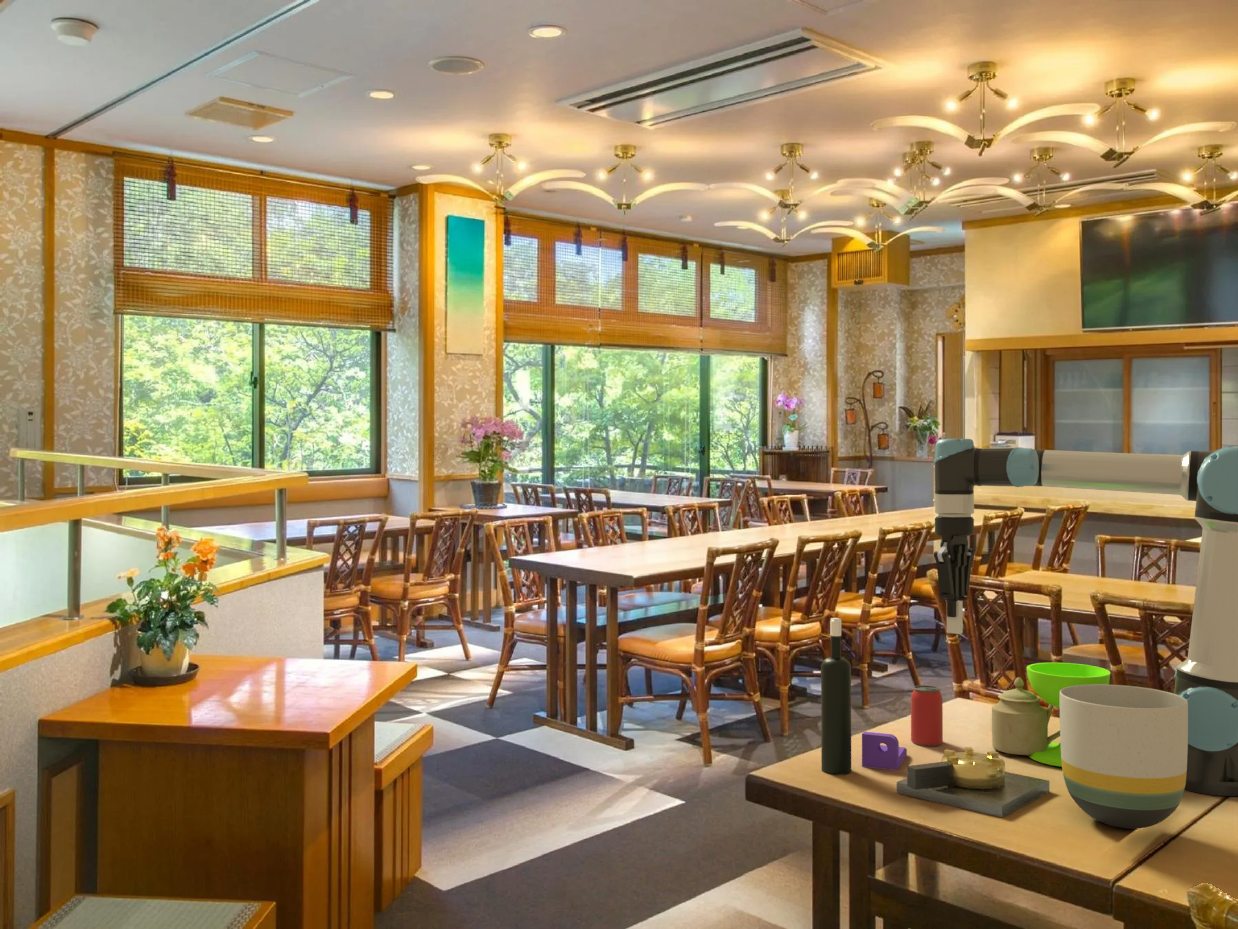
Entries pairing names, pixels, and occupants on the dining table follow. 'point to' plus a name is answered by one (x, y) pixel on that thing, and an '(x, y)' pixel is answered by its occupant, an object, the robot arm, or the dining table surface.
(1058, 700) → the wineglass
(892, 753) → the bracket
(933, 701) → the beer can
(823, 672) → the wine bottle
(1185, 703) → the planter
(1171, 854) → the dining table surface
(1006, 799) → the plate
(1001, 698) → the sugar bowl
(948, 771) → the gold tabbed disc
